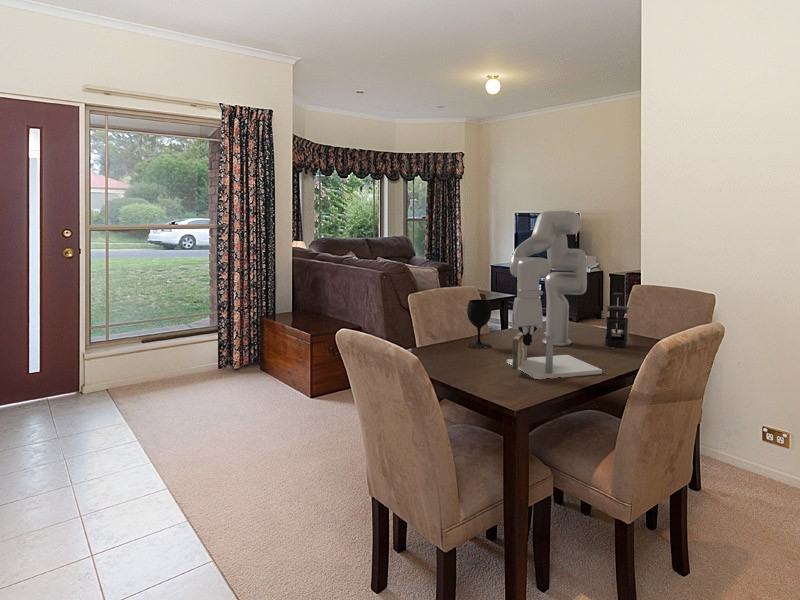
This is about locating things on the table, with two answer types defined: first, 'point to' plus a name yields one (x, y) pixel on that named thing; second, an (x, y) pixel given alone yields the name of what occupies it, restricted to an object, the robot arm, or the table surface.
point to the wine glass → (479, 318)
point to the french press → (616, 340)
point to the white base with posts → (554, 364)
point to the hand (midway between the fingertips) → (527, 344)
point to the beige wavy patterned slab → (518, 351)
